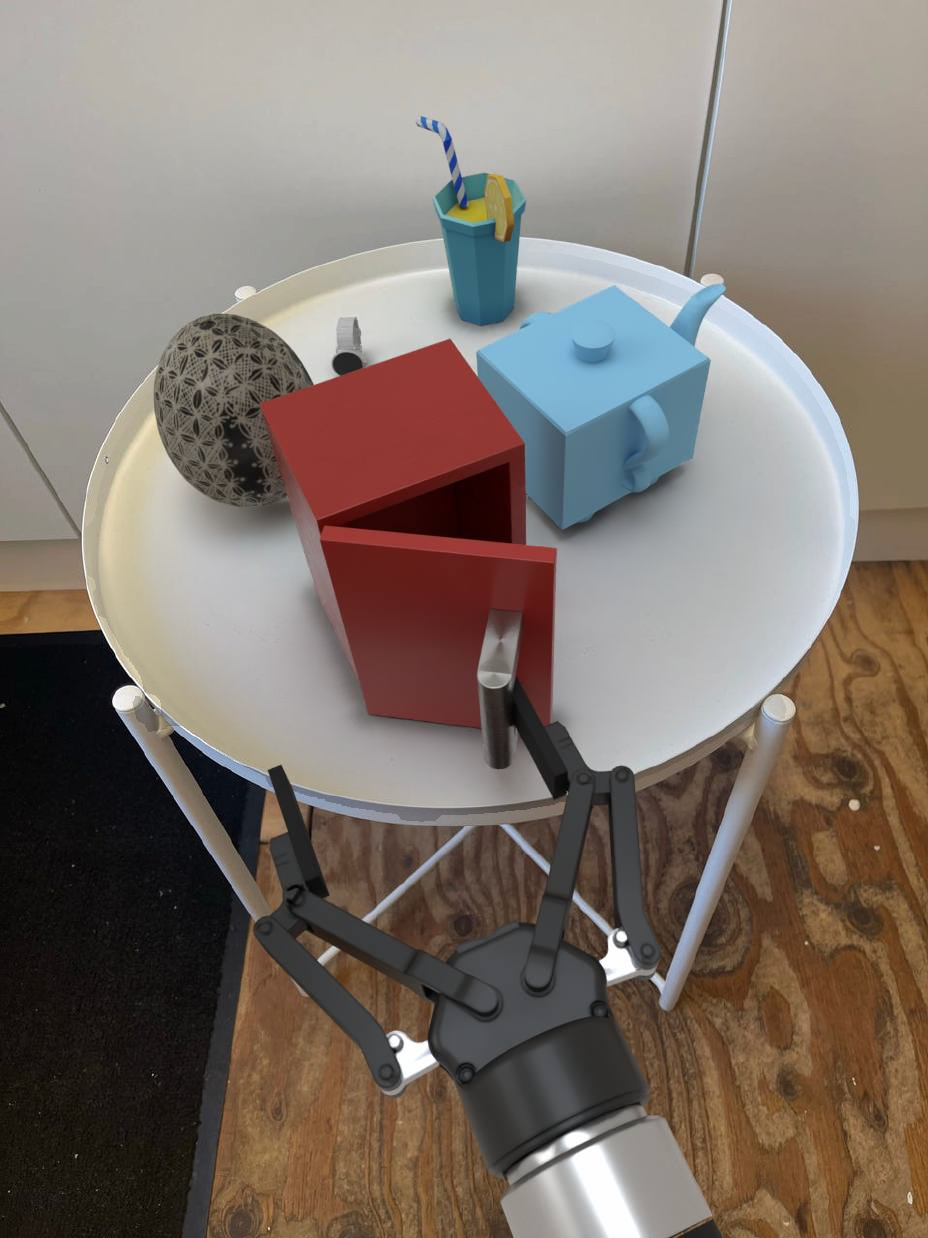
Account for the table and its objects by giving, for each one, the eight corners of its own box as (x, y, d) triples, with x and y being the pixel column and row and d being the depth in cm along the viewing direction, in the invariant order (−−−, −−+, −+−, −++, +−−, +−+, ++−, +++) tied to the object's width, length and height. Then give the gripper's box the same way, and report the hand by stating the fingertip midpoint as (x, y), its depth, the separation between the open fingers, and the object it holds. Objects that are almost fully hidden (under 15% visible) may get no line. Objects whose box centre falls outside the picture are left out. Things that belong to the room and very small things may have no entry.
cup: (400, 284, 90) (379, 125, 78) (466, 251, 93) (455, 92, 81) (492, 358, 84) (484, 196, 71) (560, 320, 86) (565, 157, 74)
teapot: (583, 566, 70) (592, 435, 59) (464, 443, 78) (454, 308, 67) (769, 460, 75) (808, 321, 64) (640, 354, 83) (656, 216, 72)
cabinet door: (539, 807, 59) (541, 645, 45) (350, 781, 61) (292, 617, 46) (551, 723, 62) (557, 547, 48) (371, 701, 64) (324, 524, 50)
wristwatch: (336, 391, 82) (326, 343, 78) (340, 353, 85) (331, 305, 81) (370, 389, 82) (361, 341, 78) (373, 351, 85) (365, 303, 81)
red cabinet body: (527, 633, 67) (525, 442, 52) (366, 700, 64) (316, 520, 50) (467, 534, 72) (450, 337, 57) (316, 593, 70) (258, 402, 55)
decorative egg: (197, 557, 72) (128, 405, 60) (181, 451, 79) (117, 295, 67) (349, 519, 74) (312, 363, 62) (321, 418, 80) (283, 259, 68)
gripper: (312, 1289, 41) (195, 850, 53) (812, 1039, 45) (598, 686, 57) (271, 1284, 35) (150, 789, 47) (853, 996, 39) (604, 611, 51)
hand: (396, 731), depth 52 cm, fingers open, 12 cm apart
